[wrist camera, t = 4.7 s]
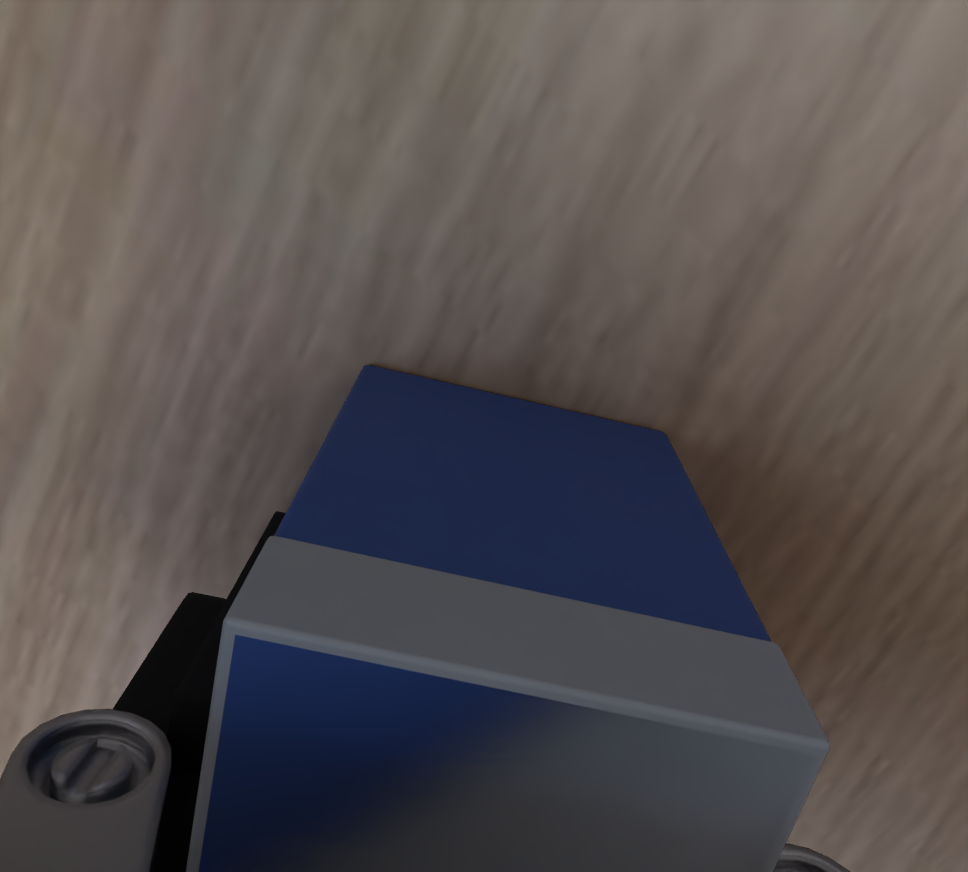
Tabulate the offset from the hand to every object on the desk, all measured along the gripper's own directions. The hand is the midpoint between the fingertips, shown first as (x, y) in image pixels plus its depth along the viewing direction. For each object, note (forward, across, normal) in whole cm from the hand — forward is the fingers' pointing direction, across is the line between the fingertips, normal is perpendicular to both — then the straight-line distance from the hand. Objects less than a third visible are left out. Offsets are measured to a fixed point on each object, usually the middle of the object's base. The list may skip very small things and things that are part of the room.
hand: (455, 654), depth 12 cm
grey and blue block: (+1, 0, 0) cm, 1 cm away
